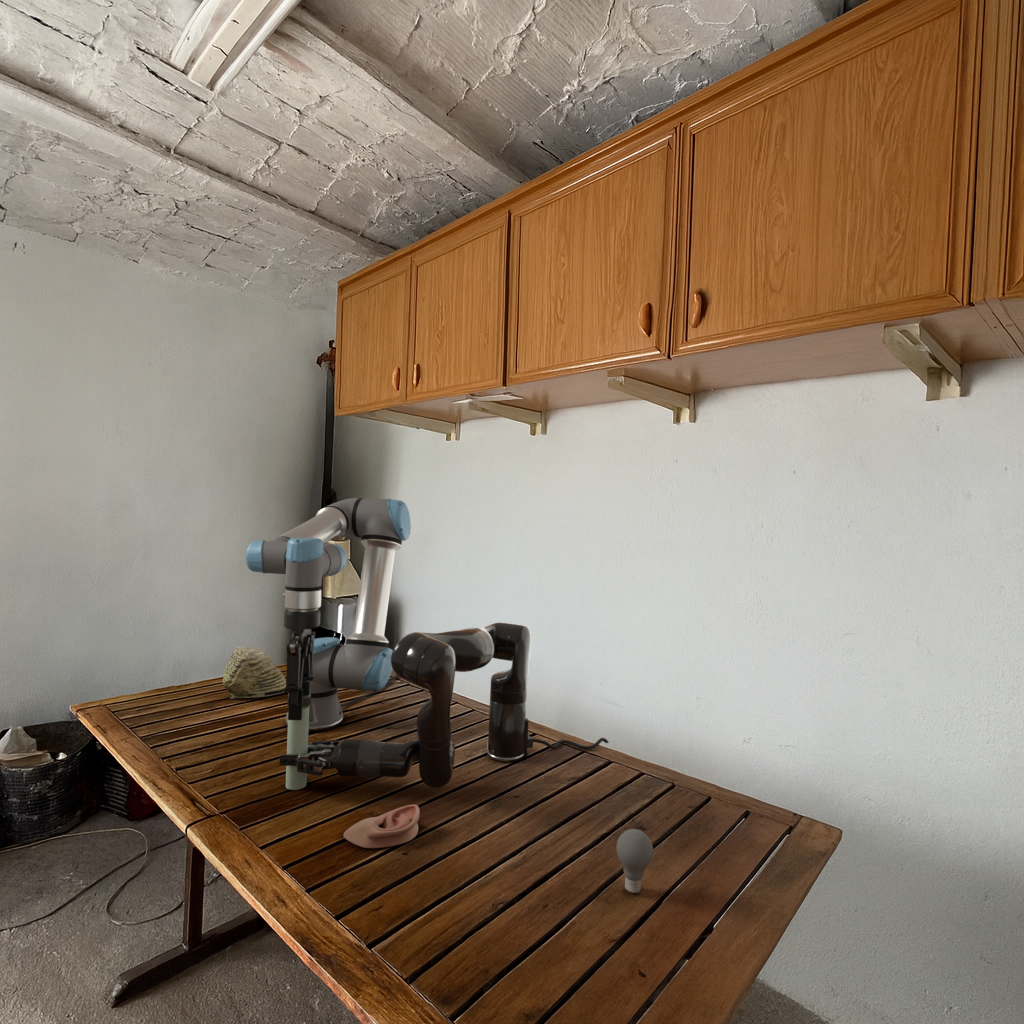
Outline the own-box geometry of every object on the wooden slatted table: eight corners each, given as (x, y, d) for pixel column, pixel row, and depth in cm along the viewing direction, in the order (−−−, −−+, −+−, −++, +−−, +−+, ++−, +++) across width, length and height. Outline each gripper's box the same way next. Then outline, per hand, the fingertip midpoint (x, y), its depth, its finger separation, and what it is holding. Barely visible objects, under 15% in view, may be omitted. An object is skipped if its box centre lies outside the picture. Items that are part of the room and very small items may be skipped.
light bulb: (610, 879, 108) (613, 822, 108) (644, 879, 109) (647, 822, 109) (619, 902, 102) (622, 840, 102) (655, 901, 103) (658, 840, 103)
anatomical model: (336, 822, 116) (363, 794, 127) (335, 843, 116) (362, 813, 127) (404, 832, 113) (426, 803, 124) (403, 854, 113) (425, 823, 124)
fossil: (218, 695, 195) (220, 647, 195) (278, 685, 208) (279, 640, 207) (228, 703, 189) (230, 653, 188) (289, 692, 201) (290, 645, 201)
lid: (305, 708, 136) (306, 697, 136) (283, 707, 136) (284, 696, 136) (314, 701, 140) (314, 691, 140) (292, 700, 141) (292, 689, 141)
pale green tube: (289, 780, 141) (293, 693, 140) (309, 781, 141) (312, 694, 140) (282, 789, 136) (285, 699, 136) (302, 790, 136) (305, 700, 136)
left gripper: (296, 601, 146) (293, 701, 147) (271, 615, 129) (267, 729, 129) (329, 602, 147) (325, 702, 147) (309, 617, 129) (304, 730, 130)
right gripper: (370, 729, 145) (296, 726, 145) (355, 754, 131) (272, 750, 131) (369, 761, 146) (294, 758, 146) (353, 790, 131) (271, 786, 131)
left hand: (298, 715), depth 138 cm, fingers closed on lid, 5 cm apart
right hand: (284, 755), depth 138 cm, fingers closed on pale green tube, 4 cm apart
